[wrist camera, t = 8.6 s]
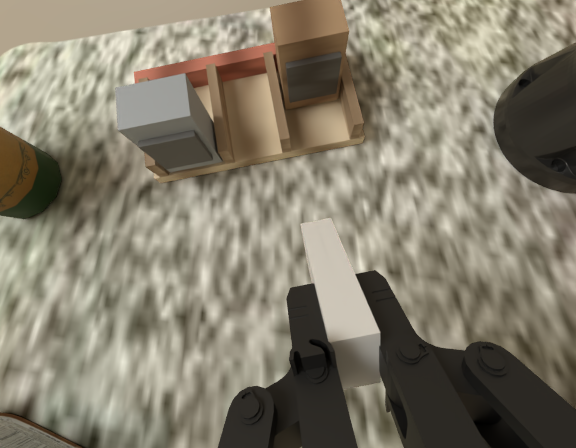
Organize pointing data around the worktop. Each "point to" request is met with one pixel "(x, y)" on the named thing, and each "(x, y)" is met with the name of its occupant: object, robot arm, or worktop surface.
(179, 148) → the grey block
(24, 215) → the bottle
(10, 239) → the worktop surface
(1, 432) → the tin
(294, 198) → the worktop surface
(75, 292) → the worktop surface
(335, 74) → the brown box
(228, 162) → the wooden compartment tray
